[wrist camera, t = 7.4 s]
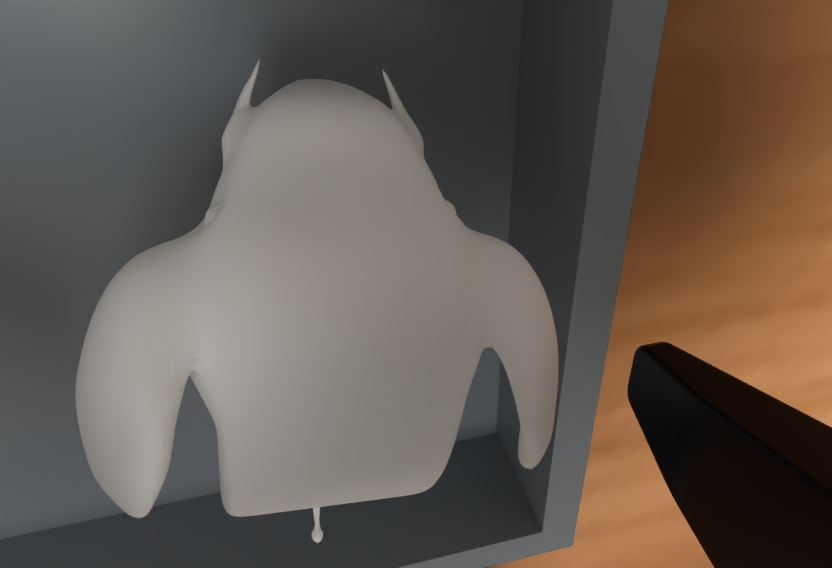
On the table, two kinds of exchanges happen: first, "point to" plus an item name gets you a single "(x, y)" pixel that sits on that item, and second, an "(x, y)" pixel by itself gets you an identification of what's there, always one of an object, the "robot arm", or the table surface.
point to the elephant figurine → (313, 319)
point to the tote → (191, 197)
